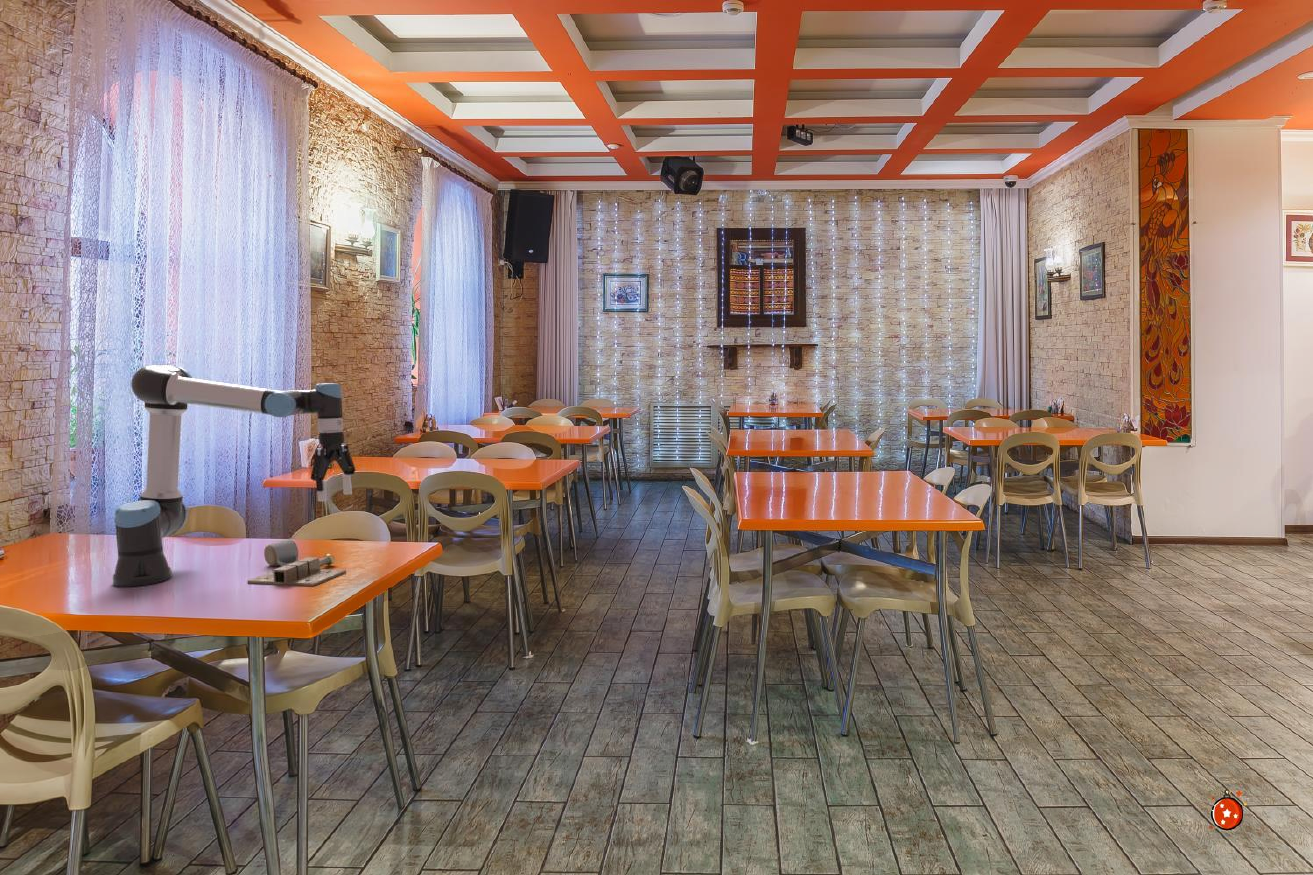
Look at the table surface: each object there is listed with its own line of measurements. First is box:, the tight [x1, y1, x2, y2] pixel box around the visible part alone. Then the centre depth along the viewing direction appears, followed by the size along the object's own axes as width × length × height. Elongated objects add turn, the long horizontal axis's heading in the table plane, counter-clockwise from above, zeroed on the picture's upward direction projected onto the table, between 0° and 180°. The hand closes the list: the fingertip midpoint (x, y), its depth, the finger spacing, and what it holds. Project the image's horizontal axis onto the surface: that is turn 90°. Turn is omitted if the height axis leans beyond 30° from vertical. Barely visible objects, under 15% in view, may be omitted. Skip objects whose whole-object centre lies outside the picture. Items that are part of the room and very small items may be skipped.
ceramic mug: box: [263, 538, 299, 567], centre depth 273 cm, size 11×8×8 cm
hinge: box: [247, 556, 347, 587], centre depth 255 cm, size 16×22×4 cm
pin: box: [296, 553, 336, 569], centre depth 263 cm, size 17×3×3 cm, turn 167°
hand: (335, 497), depth 273 cm, fingers open, 13 cm apart
